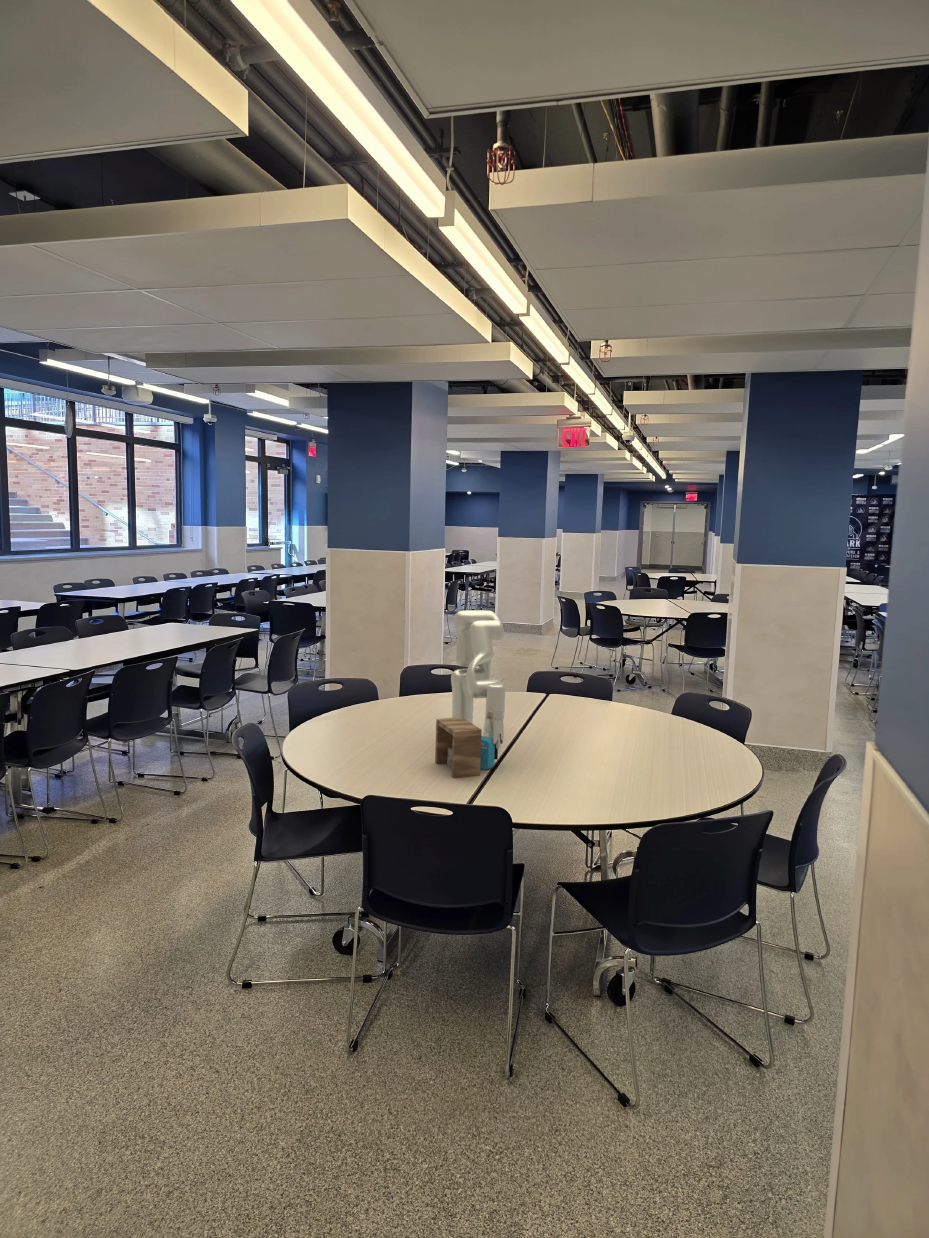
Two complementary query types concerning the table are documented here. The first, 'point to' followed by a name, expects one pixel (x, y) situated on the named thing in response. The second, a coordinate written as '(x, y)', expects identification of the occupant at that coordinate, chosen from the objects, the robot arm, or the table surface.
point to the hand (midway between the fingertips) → (493, 758)
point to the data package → (487, 753)
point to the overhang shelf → (458, 746)
